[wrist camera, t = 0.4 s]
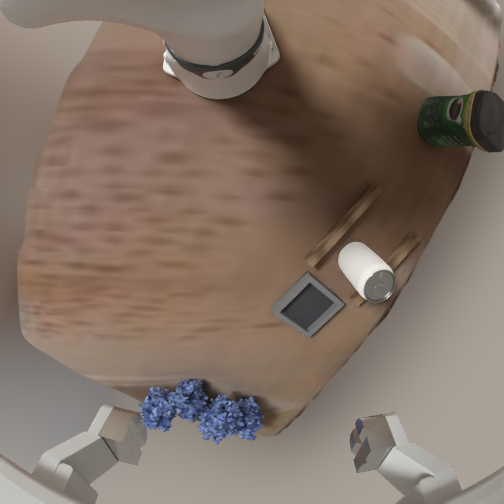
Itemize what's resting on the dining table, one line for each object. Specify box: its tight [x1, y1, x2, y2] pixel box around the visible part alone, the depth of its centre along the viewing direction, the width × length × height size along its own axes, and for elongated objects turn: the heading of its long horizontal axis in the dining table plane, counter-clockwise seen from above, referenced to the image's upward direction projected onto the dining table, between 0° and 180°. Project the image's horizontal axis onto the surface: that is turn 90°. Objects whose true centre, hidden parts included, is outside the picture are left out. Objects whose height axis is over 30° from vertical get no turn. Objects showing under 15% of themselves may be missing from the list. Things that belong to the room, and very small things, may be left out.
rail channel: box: [305, 184, 420, 306], centre depth 48 cm, size 18×14×2 cm
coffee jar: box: [418, 90, 504, 152], centre depth 32 cm, size 10×8×19 cm
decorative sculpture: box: [138, 379, 265, 444], centre depth 55 cm, size 14×15×30 cm
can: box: [338, 242, 396, 303], centre depth 44 cm, size 6×6×12 cm
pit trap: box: [271, 271, 345, 338], centre depth 52 cm, size 10×10×2 cm
